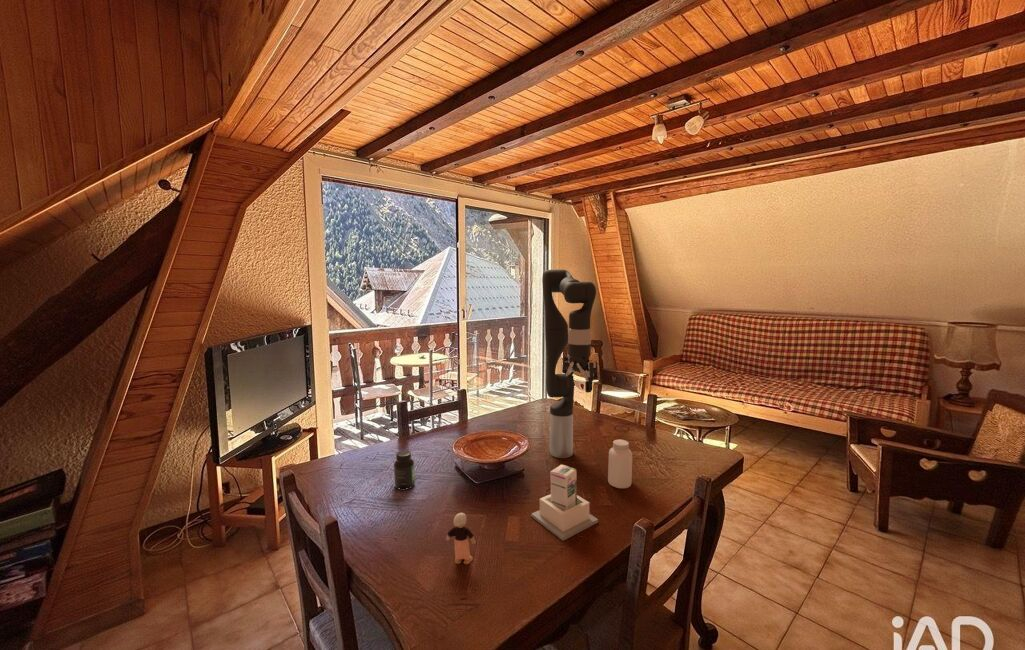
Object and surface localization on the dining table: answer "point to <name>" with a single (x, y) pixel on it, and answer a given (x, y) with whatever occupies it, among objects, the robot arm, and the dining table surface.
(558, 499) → the syrup box
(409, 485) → the supplement bottle
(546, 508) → the socket
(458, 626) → the dining table surface
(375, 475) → the dining table surface
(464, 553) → the grandmother figurine
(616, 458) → the pill bottle
